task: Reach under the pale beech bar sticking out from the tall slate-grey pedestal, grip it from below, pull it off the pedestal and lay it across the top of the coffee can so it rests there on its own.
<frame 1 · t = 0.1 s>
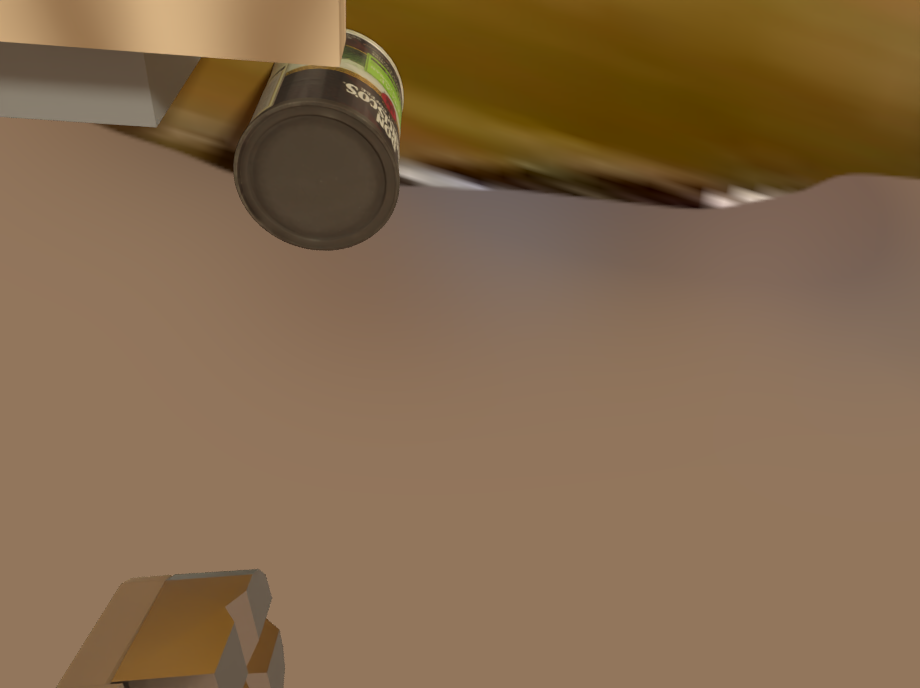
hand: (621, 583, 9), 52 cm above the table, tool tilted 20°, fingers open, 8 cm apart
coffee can: (336, 93, 58), on the table
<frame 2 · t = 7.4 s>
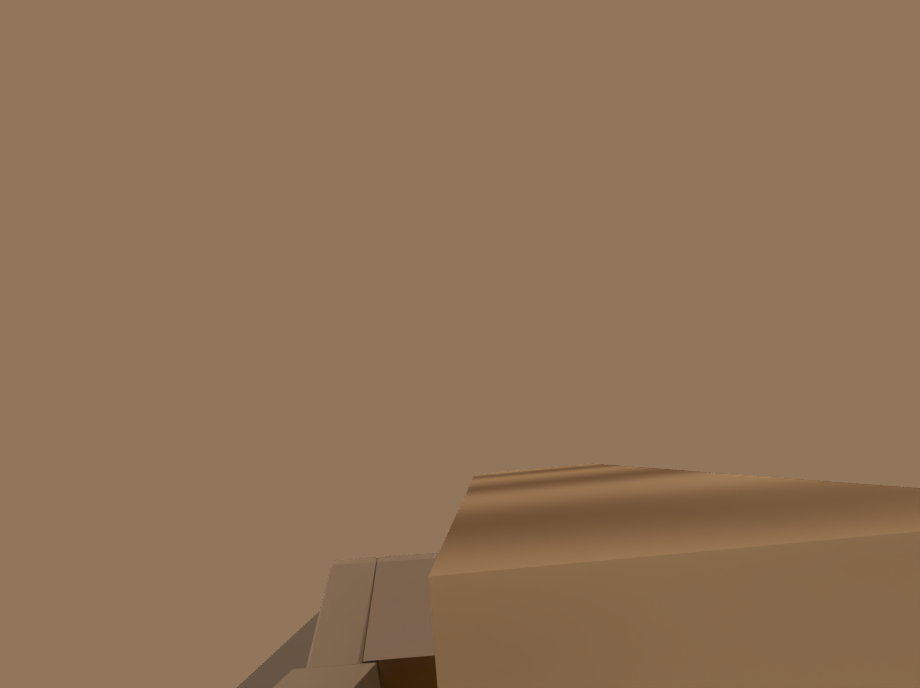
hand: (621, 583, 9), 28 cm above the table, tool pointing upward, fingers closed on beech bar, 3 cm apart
beech bar: (590, 661, 12), point 26 cm above the table, touching gripper, pedestal
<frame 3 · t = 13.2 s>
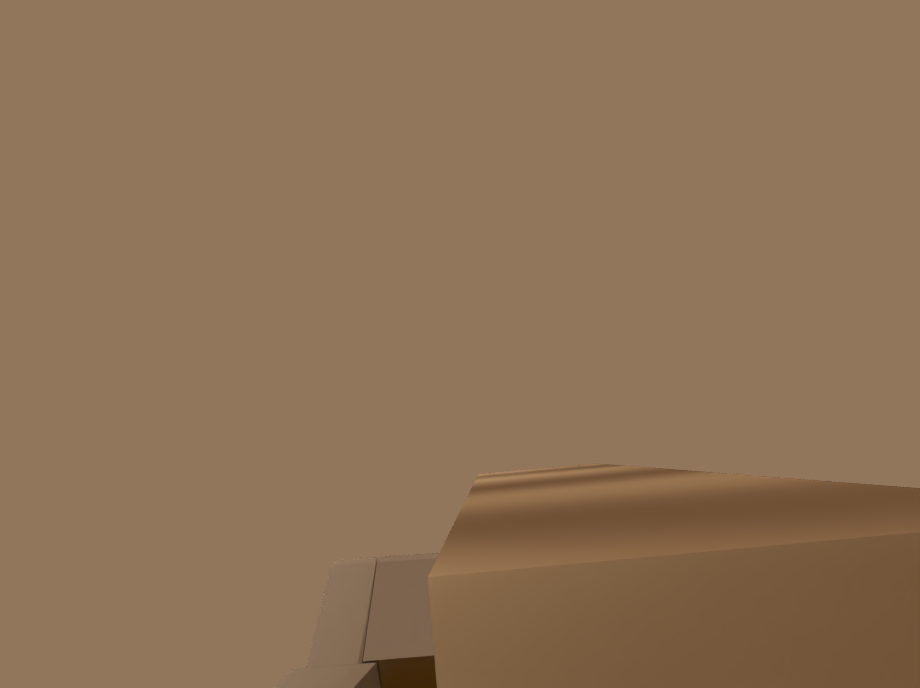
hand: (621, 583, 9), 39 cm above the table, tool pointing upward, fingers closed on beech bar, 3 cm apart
beech bar: (593, 661, 12), point 37 cm above the table, touching gripper
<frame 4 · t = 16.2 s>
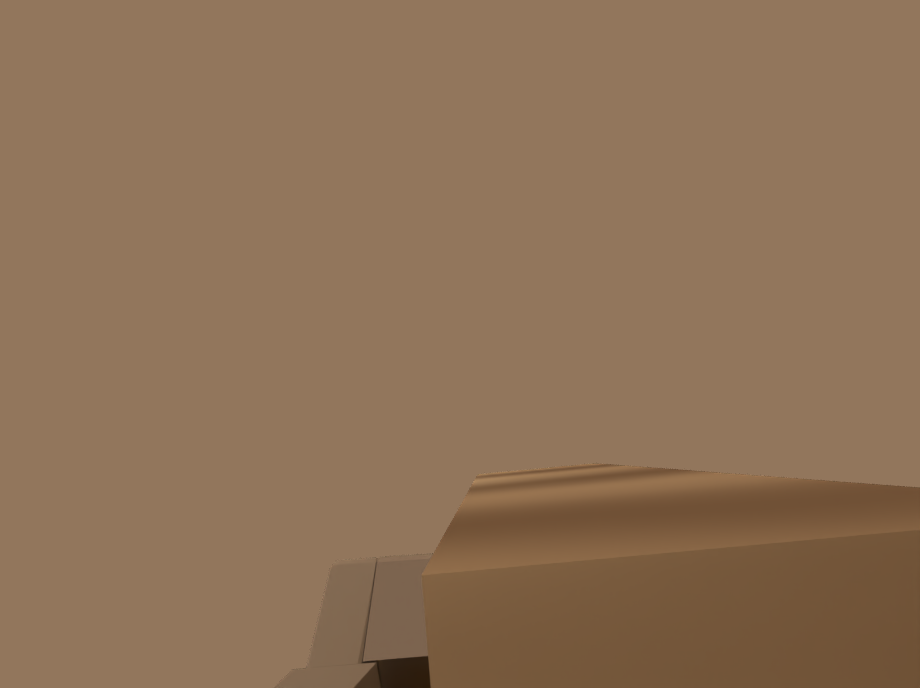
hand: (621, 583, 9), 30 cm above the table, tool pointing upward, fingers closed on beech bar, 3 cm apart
beech bar: (591, 660, 12), point 28 cm above the table, touching gripper
when the fingers open (21 cm above the table, at t = 18.6 s): beech bar drops 5 cm, resting on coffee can.
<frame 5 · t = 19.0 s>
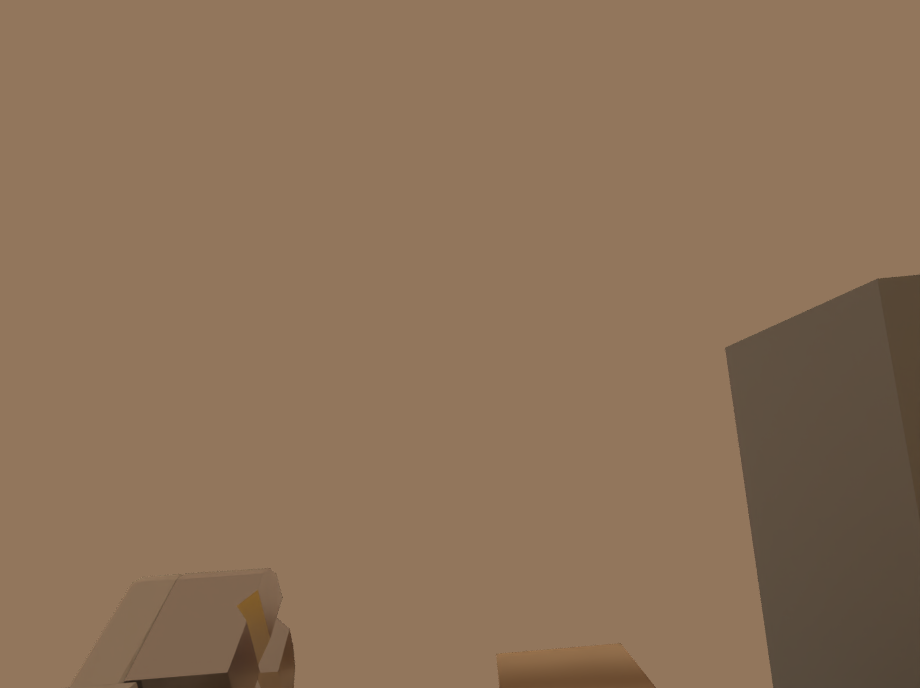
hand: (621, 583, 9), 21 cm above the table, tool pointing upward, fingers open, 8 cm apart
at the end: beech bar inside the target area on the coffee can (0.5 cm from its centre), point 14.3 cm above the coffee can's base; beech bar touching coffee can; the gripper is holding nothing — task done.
